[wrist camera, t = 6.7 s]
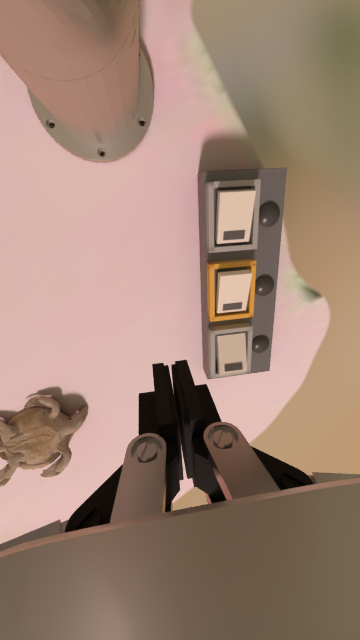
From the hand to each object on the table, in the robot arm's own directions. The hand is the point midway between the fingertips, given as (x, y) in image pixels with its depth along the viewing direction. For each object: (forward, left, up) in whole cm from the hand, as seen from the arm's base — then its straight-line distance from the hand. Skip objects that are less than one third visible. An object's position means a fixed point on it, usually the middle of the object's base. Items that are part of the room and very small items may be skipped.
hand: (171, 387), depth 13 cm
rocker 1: (-7, +10, -21) cm, 24 cm away
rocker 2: (+11, +10, -21) cm, 25 cm away
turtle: (+22, -21, -26) cm, 40 cm away
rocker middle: (+2, +10, -21) cm, 23 cm away
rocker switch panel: (+2, +12, -25) cm, 28 cm away
